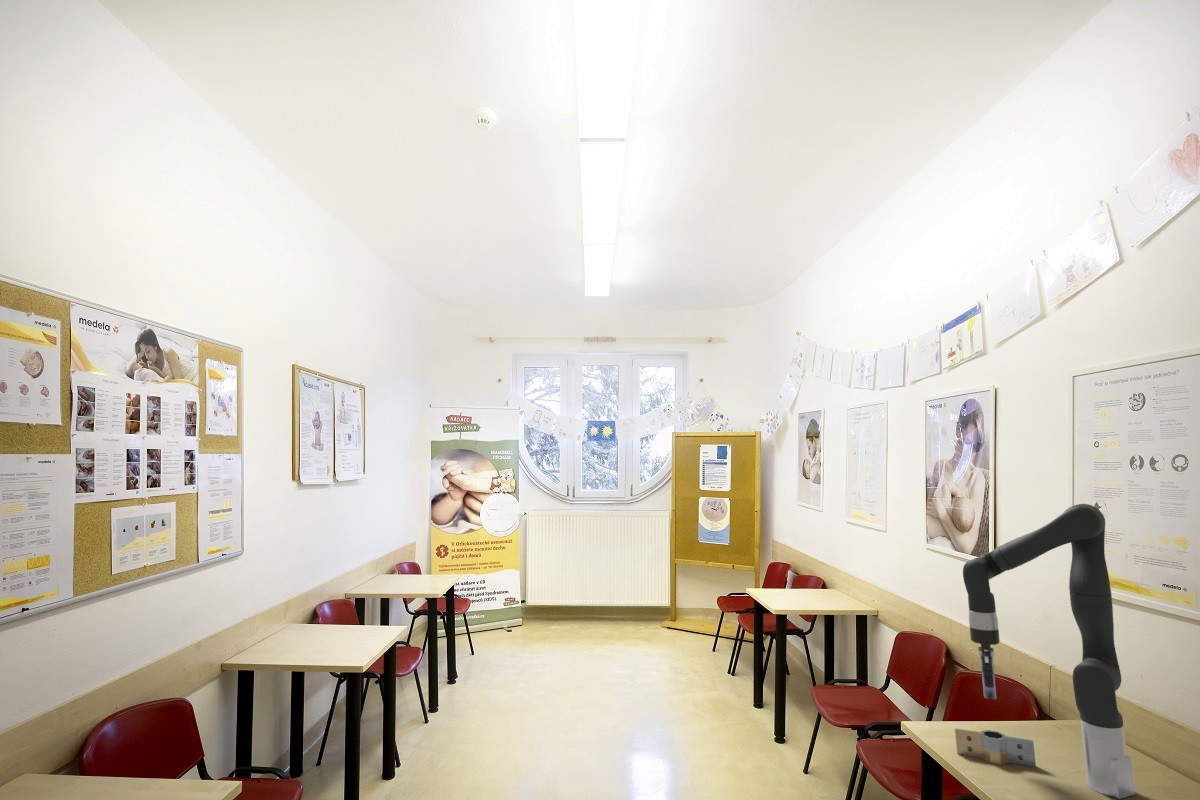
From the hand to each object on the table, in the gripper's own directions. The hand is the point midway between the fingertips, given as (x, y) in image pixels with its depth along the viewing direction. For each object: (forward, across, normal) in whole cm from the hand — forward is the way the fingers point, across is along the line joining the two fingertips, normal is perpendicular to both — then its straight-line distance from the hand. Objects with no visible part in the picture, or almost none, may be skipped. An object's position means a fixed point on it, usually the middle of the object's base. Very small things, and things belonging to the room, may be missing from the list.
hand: (989, 684), depth 191 cm
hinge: (+21, -1, 0) cm, 21 cm away
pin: (+4, 0, 0) cm, 4 cm away
